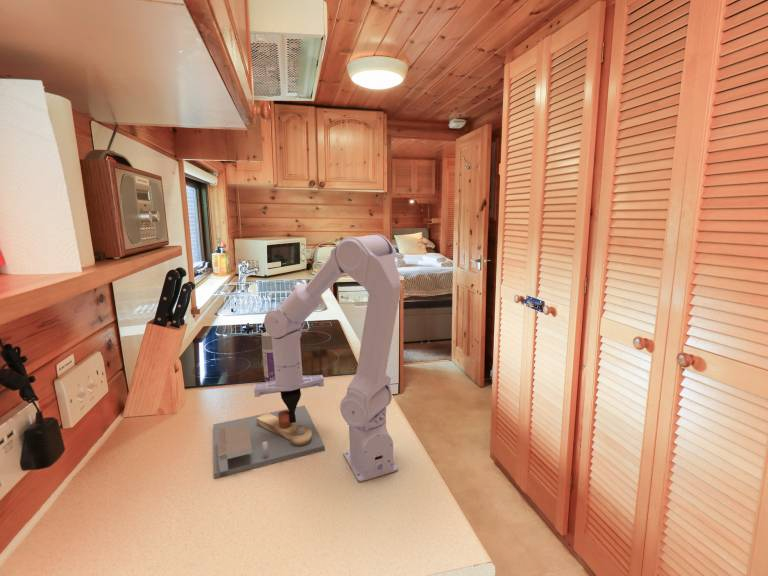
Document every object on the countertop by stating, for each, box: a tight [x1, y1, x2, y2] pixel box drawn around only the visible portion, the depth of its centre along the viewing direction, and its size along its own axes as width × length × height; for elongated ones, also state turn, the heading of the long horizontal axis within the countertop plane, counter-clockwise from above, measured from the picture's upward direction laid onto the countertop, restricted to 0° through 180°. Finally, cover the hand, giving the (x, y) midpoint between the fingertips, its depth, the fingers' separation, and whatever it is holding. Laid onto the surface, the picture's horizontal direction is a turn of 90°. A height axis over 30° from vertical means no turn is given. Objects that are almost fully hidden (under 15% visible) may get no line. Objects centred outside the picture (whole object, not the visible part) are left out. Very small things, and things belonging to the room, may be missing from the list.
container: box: [260, 331, 275, 383], centre depth 112 cm, size 5×5×15 cm
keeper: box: [217, 423, 252, 477], centre depth 79 cm, size 10×6×4 cm, turn 23°
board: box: [212, 405, 326, 479], centre depth 85 cm, size 19×21×4 cm
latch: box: [256, 409, 312, 446], centre depth 86 cm, size 15×5×4 cm, turn 54°
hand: (292, 420), depth 86 cm, fingers closed, pressing on latch
